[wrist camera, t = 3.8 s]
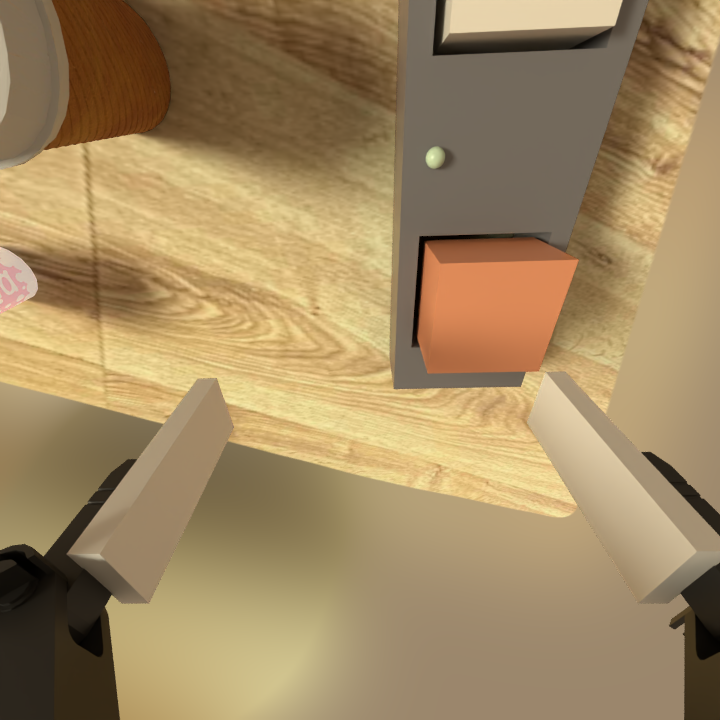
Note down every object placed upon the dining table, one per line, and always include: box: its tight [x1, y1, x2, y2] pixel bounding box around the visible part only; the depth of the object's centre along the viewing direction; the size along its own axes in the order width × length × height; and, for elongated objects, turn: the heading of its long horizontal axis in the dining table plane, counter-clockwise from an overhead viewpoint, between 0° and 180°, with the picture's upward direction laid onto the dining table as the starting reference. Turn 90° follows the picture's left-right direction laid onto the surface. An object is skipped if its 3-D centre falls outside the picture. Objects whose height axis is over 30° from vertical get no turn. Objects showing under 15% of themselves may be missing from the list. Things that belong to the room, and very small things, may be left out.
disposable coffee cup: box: [0, 0, 171, 169], centre depth 14 cm, size 10×10×12 cm
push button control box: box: [390, 0, 649, 389], centre depth 17 cm, size 36×10×6 cm, turn 2°
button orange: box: [417, 237, 579, 374], centre depth 20 cm, size 7×7×5 cm
